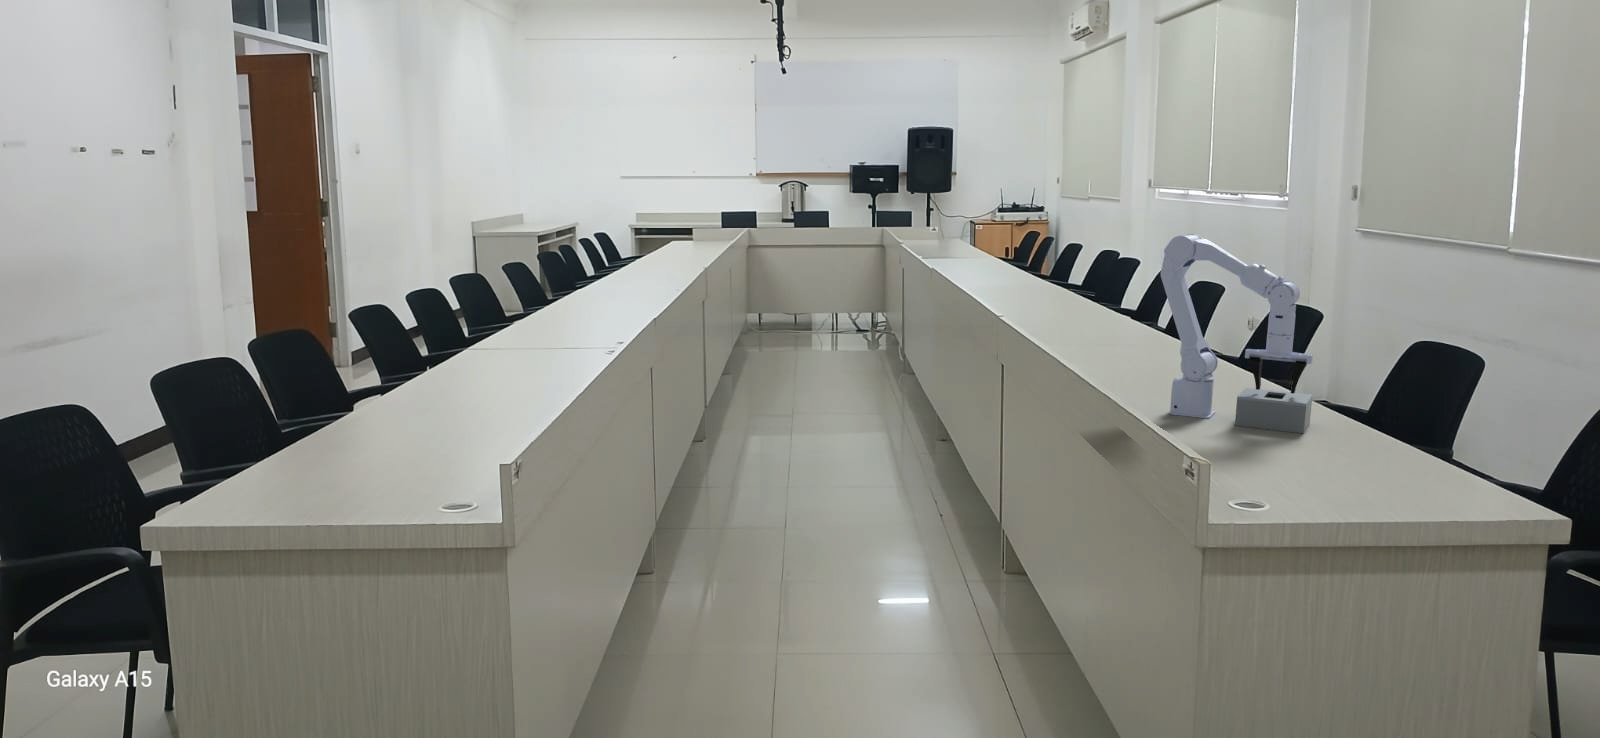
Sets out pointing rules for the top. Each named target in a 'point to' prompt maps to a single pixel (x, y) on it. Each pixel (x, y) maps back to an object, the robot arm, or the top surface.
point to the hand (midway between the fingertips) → (1275, 390)
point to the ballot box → (1273, 410)
